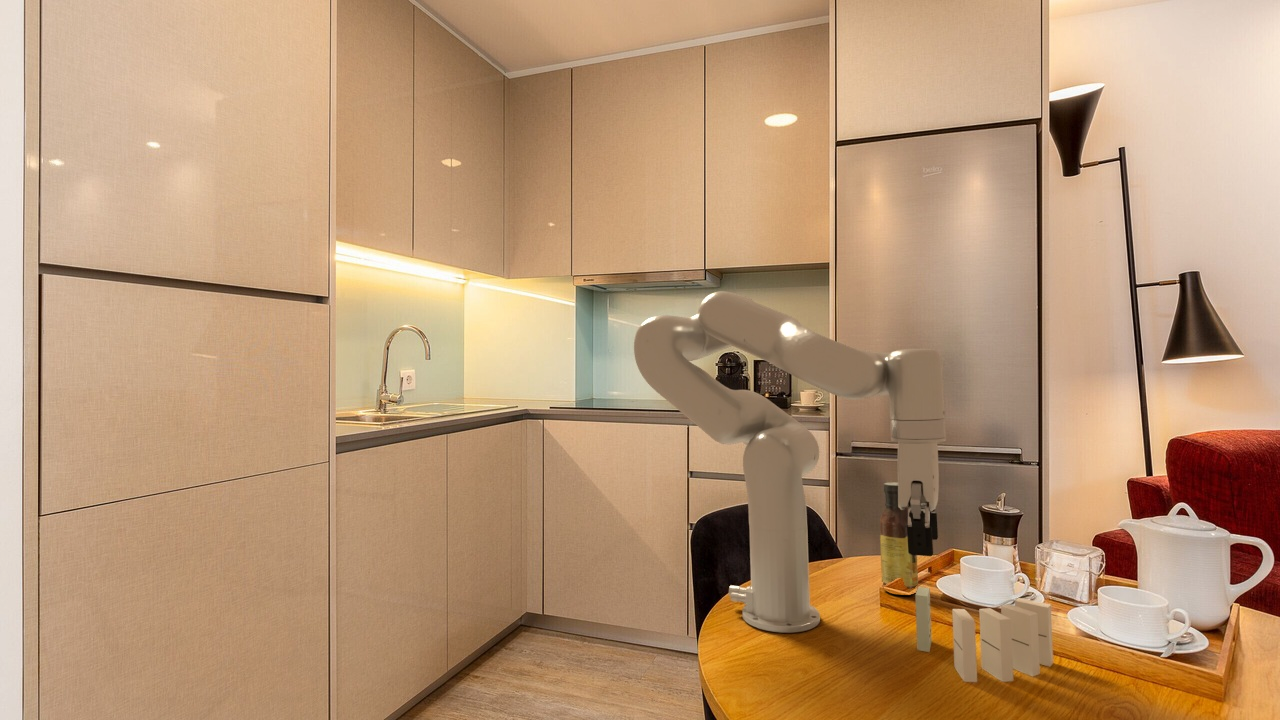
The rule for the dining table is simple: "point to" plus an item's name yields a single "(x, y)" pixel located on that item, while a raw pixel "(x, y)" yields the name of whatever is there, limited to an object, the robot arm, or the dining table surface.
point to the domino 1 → (964, 645)
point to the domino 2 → (996, 644)
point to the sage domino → (923, 619)
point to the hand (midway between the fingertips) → (923, 546)
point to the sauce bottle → (896, 541)
